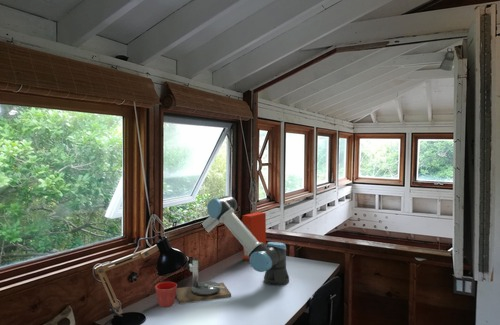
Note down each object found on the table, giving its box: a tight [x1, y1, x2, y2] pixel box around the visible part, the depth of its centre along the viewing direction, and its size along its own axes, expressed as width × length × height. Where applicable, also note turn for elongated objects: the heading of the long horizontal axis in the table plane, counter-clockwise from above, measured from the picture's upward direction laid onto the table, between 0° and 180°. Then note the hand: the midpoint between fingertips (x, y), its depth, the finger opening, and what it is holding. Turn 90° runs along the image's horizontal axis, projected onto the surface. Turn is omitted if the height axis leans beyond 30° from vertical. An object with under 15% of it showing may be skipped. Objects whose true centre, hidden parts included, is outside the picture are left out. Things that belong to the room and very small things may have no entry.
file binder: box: [242, 211, 267, 262], centre depth 269 cm, size 8×17×32 cm, turn 140°
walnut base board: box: [175, 282, 232, 305], centre depth 202 cm, size 28×18×2 cm, turn 108°
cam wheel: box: [190, 259, 224, 296], centre depth 202 cm, size 18×16×16 cm
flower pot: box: [155, 281, 178, 308], centre depth 189 cm, size 11×11×10 cm
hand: (191, 269), depth 213 cm, fingers closed
